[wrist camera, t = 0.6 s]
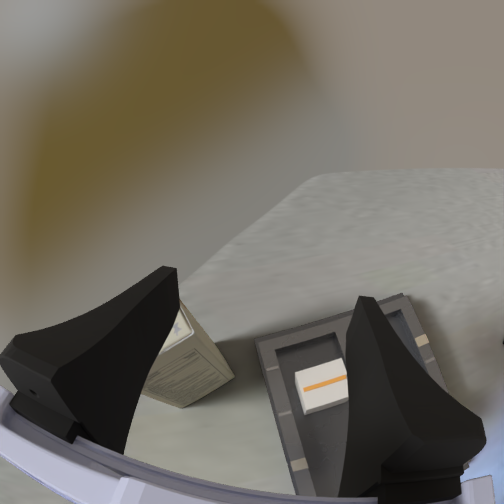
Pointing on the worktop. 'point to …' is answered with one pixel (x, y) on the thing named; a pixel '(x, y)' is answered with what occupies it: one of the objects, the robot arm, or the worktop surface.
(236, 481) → the worktop surface
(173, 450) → the worktop surface
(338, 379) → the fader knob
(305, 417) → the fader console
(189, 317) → the skincare box
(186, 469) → the worktop surface
